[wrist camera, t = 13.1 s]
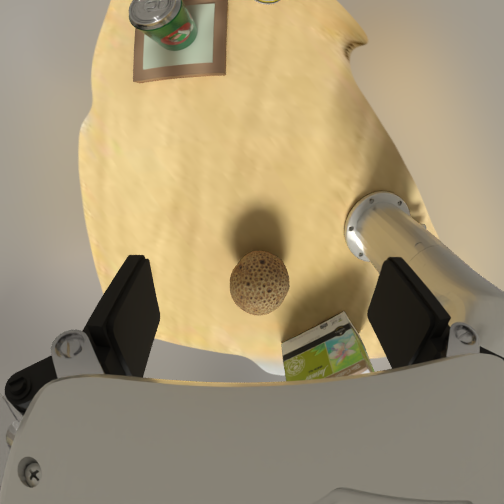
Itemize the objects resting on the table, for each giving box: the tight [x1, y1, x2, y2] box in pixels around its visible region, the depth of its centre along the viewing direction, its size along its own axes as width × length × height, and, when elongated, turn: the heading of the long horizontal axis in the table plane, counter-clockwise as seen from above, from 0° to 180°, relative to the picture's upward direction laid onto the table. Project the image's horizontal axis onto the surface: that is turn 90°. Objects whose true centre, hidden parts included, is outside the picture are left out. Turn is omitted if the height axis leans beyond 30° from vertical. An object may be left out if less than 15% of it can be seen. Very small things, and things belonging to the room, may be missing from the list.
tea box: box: [281, 311, 374, 381], centre depth 49 cm, size 15×10×15 cm, turn 125°
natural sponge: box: [230, 251, 289, 315], centre depth 41 cm, size 9×9×10 cm
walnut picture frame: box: [133, 0, 228, 83], centre depth 26 cm, size 12×12×3 cm
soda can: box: [129, 0, 198, 51], centre depth 20 cm, size 5×5×12 cm
